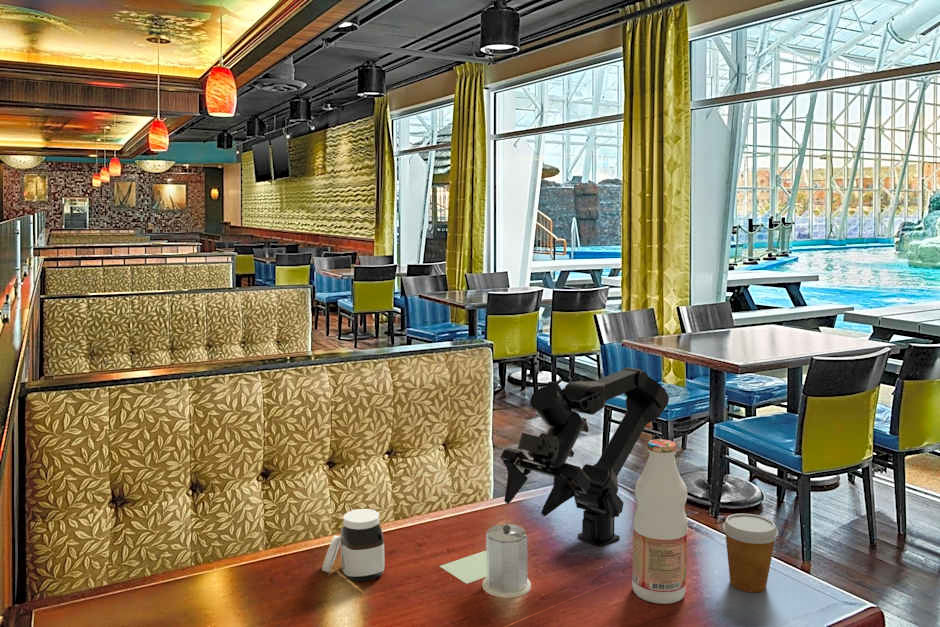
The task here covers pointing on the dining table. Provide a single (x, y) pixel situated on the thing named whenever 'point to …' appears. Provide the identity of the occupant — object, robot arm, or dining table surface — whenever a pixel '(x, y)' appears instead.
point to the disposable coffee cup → (749, 550)
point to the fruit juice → (660, 528)
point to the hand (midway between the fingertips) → (524, 508)
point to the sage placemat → (468, 567)
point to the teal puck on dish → (506, 595)
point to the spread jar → (358, 546)
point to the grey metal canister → (506, 558)
